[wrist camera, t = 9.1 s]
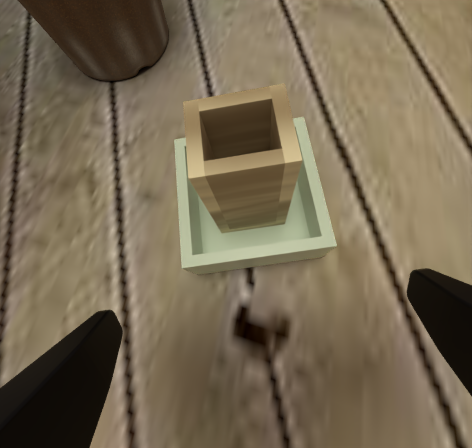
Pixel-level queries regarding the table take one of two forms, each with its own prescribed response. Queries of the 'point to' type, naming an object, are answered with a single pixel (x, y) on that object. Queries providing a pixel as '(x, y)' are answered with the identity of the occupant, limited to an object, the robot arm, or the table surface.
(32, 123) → the table surface
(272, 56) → the table surface
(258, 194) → the pine crate
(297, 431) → the table surface
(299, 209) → the sage crate
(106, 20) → the plant pot
